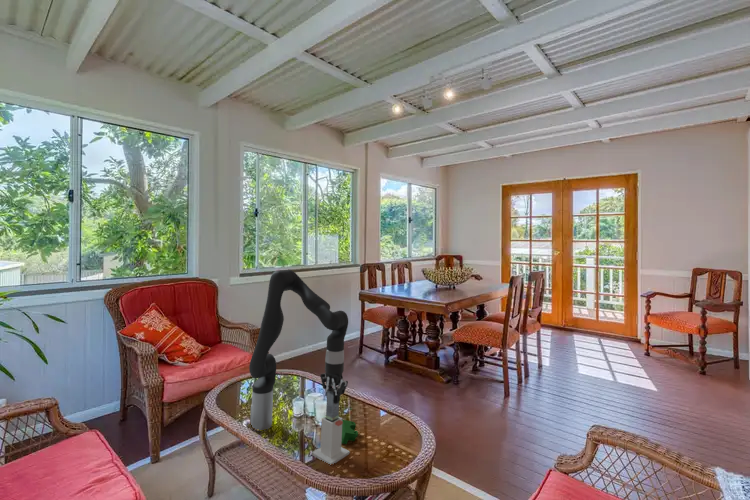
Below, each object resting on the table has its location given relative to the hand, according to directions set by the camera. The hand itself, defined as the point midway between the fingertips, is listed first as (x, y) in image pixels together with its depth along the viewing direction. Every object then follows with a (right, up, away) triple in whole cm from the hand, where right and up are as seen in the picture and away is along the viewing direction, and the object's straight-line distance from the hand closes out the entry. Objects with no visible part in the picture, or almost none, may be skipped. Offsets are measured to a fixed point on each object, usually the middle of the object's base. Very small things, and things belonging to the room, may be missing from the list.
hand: (332, 401), depth 150 cm
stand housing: (-1, -22, +1) cm, 22 cm away
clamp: (+5, -22, +13) cm, 27 cm away
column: (-1, -15, +1) cm, 15 cm away
